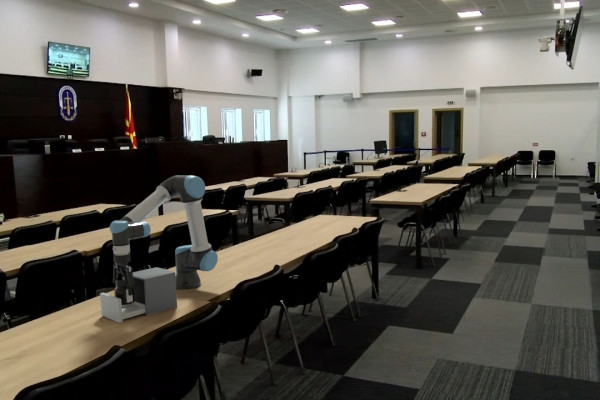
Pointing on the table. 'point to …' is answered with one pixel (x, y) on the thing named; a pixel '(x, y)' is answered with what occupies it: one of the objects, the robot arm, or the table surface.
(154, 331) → the table surface
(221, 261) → the table surface
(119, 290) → the ink bottle
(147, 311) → the cubby
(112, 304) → the light grey drawer
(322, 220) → the table surface
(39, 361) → the table surface
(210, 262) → the robot arm
